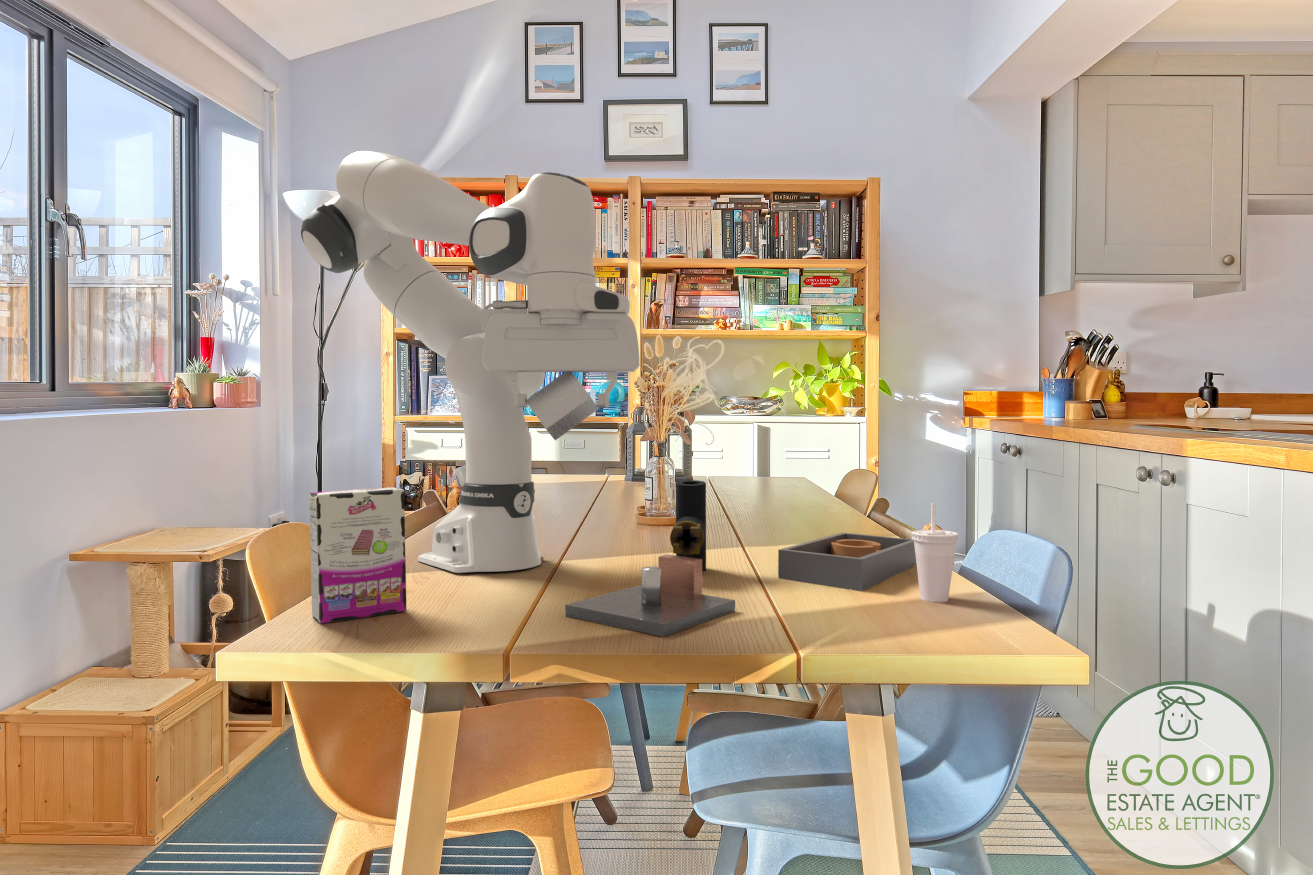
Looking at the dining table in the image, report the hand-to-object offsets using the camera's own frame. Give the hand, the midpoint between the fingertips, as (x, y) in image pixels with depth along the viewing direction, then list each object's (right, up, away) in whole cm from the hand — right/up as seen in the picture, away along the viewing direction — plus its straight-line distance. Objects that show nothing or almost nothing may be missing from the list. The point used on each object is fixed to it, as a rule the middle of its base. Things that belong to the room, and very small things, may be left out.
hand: (562, 407), depth 104 cm
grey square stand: (+12, -27, +2) cm, 30 cm away
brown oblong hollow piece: (+42, -29, +37) cm, 63 cm away
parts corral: (+44, -27, +28) cm, 59 cm away
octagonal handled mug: (-3, -2, +3) cm, 4 cm away
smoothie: (+52, -27, +10) cm, 59 cm away
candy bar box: (-27, -27, +1) cm, 38 cm away
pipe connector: (+18, -27, +26) cm, 41 cm away
